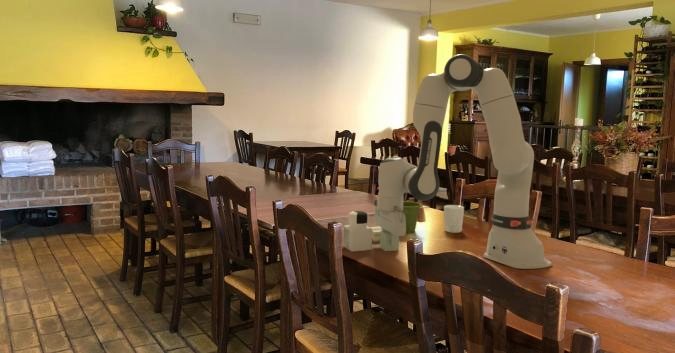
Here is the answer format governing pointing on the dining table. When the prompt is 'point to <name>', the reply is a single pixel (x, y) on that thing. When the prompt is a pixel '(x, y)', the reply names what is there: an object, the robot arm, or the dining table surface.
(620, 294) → the dining table surface
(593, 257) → the dining table surface
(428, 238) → the dining table surface
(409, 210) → the plant pot
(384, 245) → the sage block
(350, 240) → the container
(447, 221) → the white cup
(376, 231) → the beech block
